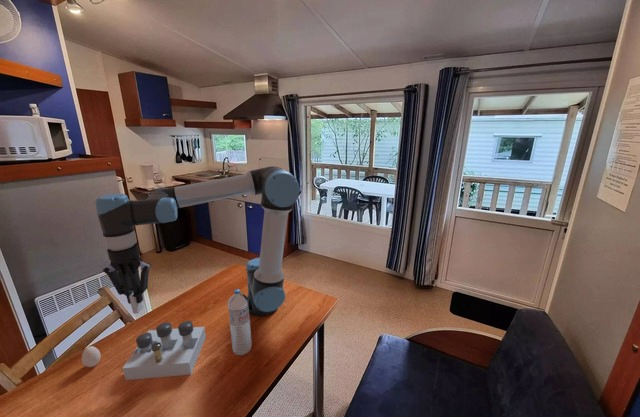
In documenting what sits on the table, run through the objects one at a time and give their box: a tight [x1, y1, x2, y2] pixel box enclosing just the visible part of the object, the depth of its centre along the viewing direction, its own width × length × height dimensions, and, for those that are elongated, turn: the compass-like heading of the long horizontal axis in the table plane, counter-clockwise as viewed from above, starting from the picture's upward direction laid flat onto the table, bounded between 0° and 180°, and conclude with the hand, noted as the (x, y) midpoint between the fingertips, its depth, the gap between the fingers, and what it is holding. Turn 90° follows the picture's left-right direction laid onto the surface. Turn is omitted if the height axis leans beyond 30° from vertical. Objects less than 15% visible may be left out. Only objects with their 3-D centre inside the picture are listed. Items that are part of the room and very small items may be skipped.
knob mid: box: [155, 321, 173, 348], centre depth 89 cm, size 4×4×7 cm
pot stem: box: [151, 342, 163, 363], centre depth 83 cm, size 3×3×6 cm
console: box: [122, 326, 207, 381], centre depth 91 cm, size 20×16×5 cm
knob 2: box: [177, 320, 194, 346], centre depth 90 cm, size 4×4×7 cm
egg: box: [81, 345, 101, 368], centre depth 87 cm, size 5×5×7 cm
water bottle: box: [227, 288, 253, 356], centre depth 92 cm, size 7×7×25 cm
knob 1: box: [135, 332, 153, 353], centre depth 89 cm, size 4×4×7 cm
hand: (138, 310), depth 85 cm, fingers closed
